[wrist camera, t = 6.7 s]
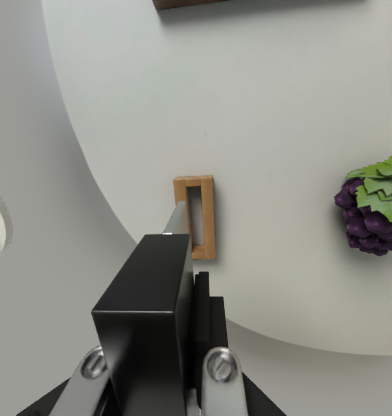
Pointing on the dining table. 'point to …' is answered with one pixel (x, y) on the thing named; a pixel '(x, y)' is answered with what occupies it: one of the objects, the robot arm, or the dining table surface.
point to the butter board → (179, 3)
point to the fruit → (368, 208)
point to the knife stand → (207, 210)
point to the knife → (152, 325)
